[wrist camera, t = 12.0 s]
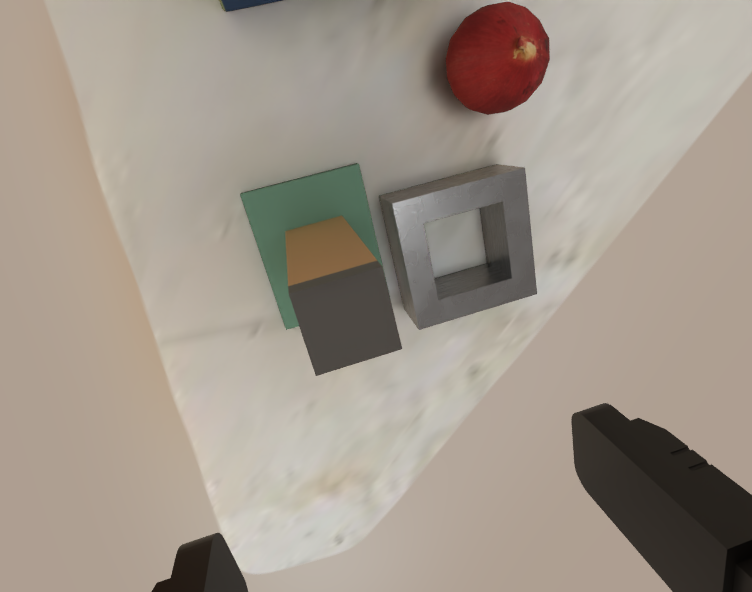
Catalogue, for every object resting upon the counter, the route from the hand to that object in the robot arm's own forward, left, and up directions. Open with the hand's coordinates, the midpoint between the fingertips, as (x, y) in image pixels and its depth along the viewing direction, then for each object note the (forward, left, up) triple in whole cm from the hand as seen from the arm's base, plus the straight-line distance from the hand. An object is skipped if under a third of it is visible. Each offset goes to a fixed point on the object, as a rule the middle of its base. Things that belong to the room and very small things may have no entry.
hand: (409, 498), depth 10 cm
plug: (0, 0, -23) cm, 23 cm away
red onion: (-9, +13, -24) cm, 29 cm away
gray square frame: (+2, +9, -24) cm, 26 cm away
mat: (0, 0, -24) cm, 24 cm away
